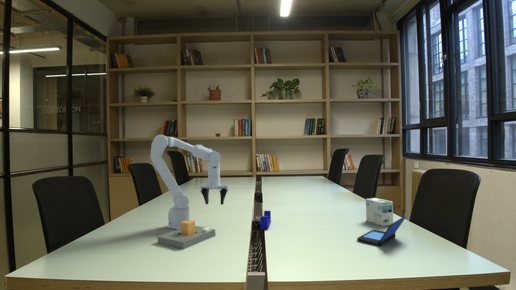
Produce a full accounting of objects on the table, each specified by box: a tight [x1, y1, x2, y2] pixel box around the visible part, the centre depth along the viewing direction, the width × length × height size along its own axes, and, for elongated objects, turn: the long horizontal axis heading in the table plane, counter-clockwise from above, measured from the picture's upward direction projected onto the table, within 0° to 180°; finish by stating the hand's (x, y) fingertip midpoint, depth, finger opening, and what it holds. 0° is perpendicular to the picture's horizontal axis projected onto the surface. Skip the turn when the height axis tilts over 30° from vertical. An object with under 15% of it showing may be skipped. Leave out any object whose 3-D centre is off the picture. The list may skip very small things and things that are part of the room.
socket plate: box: [157, 225, 216, 250], centre depth 118 cm, size 14×18×4 cm
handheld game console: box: [356, 216, 406, 247], centre depth 113 cm, size 16×13×9 cm
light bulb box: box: [365, 197, 394, 227], centre depth 137 cm, size 11×7×11 cm, turn 22°
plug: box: [181, 219, 196, 236], centre depth 118 cm, size 4×4×7 cm
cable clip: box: [259, 210, 272, 231], centre depth 135 cm, size 12×4×6 cm, turn 171°
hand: (214, 204), depth 140 cm, fingers open, 7 cm apart
